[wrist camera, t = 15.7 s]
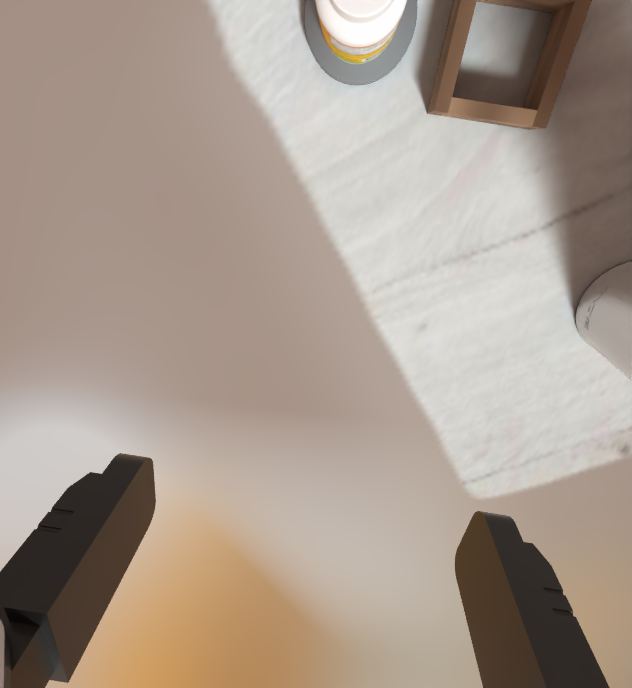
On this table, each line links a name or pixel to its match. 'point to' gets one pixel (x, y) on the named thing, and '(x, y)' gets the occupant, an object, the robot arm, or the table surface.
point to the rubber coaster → (364, 71)
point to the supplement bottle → (359, 26)
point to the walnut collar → (565, 27)
